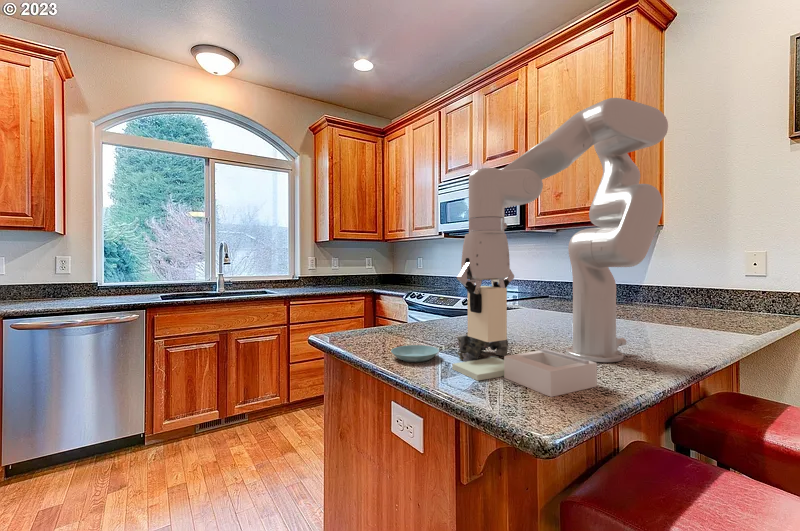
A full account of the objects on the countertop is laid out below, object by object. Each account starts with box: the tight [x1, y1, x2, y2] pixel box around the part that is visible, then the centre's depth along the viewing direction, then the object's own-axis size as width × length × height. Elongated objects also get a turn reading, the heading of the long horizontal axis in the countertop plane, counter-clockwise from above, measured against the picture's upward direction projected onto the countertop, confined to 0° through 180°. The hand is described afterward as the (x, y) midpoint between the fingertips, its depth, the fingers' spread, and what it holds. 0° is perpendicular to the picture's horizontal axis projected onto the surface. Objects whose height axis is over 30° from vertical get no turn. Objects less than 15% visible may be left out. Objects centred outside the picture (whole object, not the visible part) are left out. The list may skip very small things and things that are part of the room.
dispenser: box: [503, 347, 598, 398], centre depth 75 cm, size 12×12×5 cm
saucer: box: [390, 344, 440, 363], centre depth 93 cm, size 12×12×2 cm
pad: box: [451, 356, 504, 382], centre depth 82 cm, size 12×9×1 cm
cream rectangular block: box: [467, 285, 508, 342], centre depth 82 cm, size 5×7×11 cm
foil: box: [456, 332, 509, 362], centre depth 93 cm, size 12×11×15 cm
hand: (486, 310), depth 82 cm, fingers closed on cream rectangular block, 4 cm apart
